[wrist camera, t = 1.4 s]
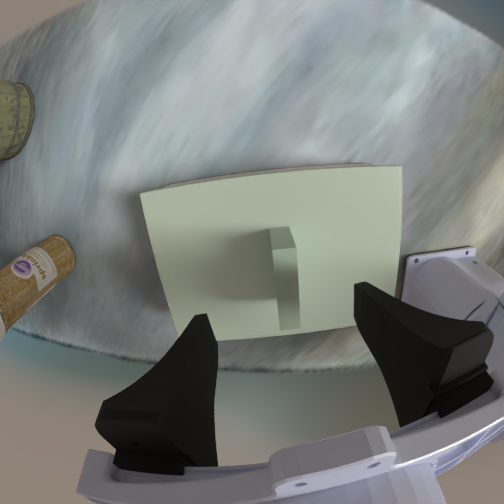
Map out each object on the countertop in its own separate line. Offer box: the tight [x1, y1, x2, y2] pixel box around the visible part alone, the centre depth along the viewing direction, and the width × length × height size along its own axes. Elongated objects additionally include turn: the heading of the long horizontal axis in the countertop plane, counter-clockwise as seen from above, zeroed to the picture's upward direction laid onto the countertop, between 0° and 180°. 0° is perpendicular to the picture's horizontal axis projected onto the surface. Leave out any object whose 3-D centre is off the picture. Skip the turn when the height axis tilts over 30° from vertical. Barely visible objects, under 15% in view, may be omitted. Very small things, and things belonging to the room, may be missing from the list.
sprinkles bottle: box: [0, 235, 75, 341], centre depth 17 cm, size 5×5×14 cm
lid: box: [140, 165, 402, 341], centre depth 17 cm, size 17×12×5 cm
